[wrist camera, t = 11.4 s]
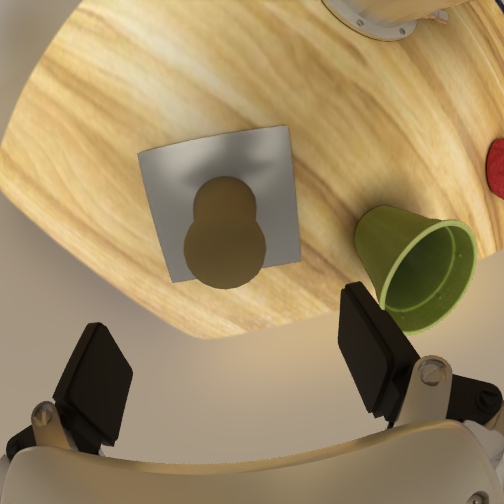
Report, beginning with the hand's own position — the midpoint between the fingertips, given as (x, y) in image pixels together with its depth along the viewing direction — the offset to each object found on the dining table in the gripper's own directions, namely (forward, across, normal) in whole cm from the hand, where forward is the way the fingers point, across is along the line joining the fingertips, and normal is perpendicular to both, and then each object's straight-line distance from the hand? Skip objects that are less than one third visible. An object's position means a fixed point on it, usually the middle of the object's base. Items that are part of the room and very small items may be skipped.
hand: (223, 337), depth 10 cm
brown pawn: (+18, 0, 0) cm, 18 cm away
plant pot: (+18, -17, +6) cm, 26 cm away
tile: (+18, 0, 0) cm, 18 cm away
